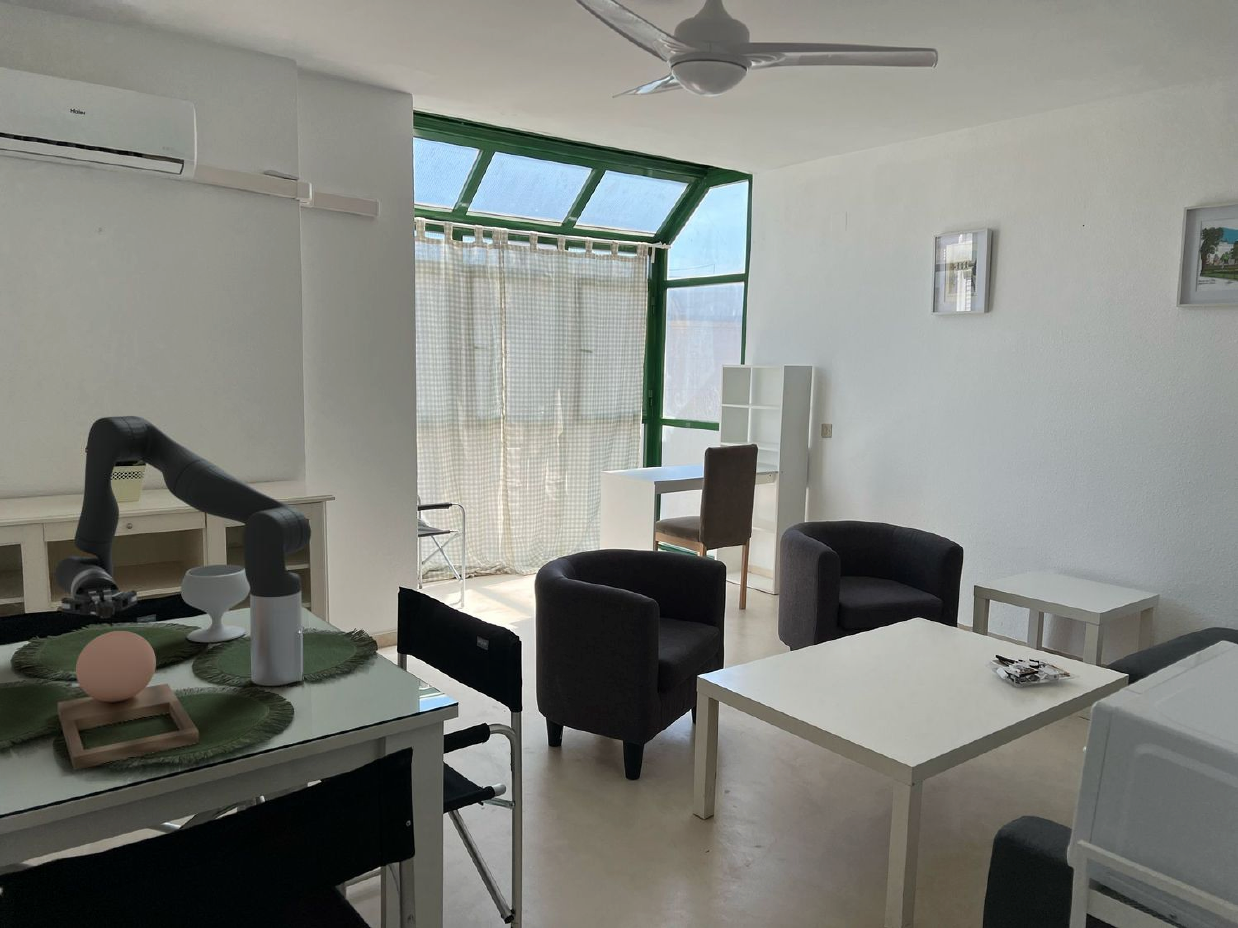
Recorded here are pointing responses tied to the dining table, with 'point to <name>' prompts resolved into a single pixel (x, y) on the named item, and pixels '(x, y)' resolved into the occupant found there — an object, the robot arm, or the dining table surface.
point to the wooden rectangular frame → (101, 713)
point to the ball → (115, 666)
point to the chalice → (215, 598)
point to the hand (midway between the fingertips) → (106, 612)
